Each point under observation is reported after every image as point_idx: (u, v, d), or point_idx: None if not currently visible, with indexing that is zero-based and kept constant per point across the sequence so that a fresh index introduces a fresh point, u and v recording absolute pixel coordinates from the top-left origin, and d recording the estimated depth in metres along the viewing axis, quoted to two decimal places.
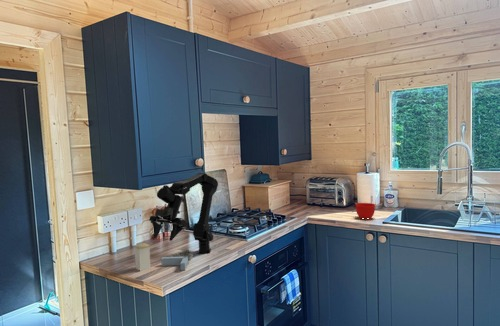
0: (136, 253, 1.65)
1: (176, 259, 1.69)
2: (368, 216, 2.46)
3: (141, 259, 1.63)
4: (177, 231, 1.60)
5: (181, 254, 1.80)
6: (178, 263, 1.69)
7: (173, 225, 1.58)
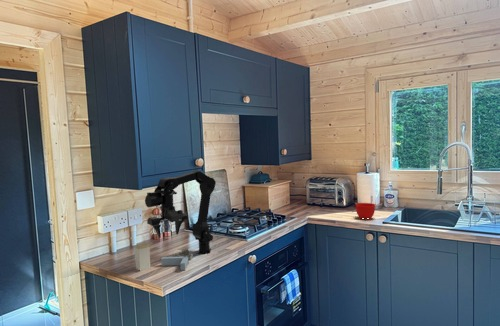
0: (136, 253, 1.65)
1: (176, 259, 1.69)
2: (368, 216, 2.46)
3: (141, 259, 1.63)
4: None
5: (181, 254, 1.79)
6: (178, 263, 1.69)
7: (181, 222, 1.74)
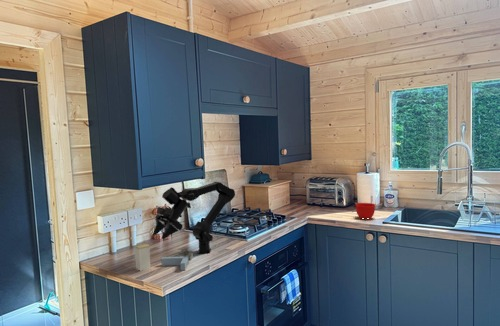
0: (136, 253, 1.65)
1: (176, 259, 1.69)
2: (368, 216, 2.46)
3: (141, 259, 1.63)
4: (171, 231, 1.69)
5: (180, 254, 1.79)
6: (178, 263, 1.69)
7: (168, 224, 1.68)
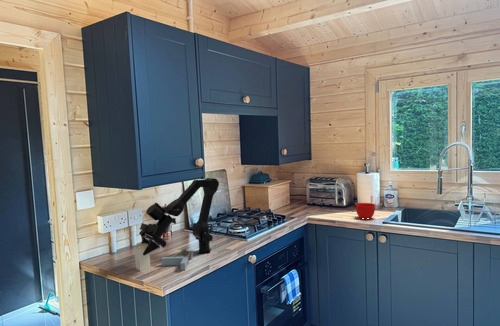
0: (136, 253, 1.65)
1: (176, 259, 1.69)
2: (368, 216, 2.46)
3: (141, 259, 1.63)
4: (153, 248, 1.65)
5: (180, 254, 1.79)
6: (178, 263, 1.69)
7: (149, 241, 1.64)
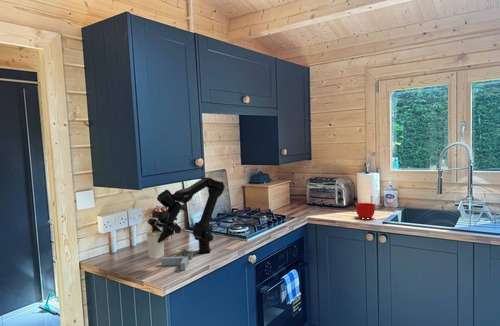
0: (149, 241, 1.62)
1: (176, 259, 1.69)
2: (368, 216, 2.46)
3: (156, 247, 1.61)
4: (167, 235, 1.64)
5: (179, 254, 1.79)
6: (178, 263, 1.69)
7: (163, 228, 1.63)
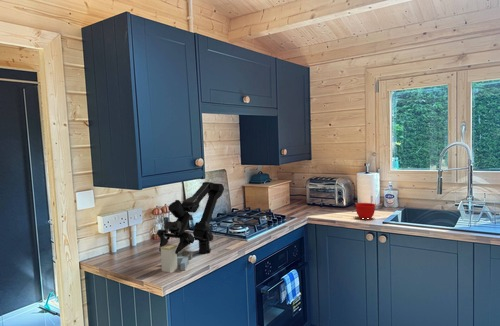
0: (163, 255, 1.62)
1: None
2: (368, 216, 2.46)
3: (170, 260, 1.61)
4: (183, 245, 1.64)
5: (179, 254, 1.79)
6: (178, 263, 1.69)
7: (180, 238, 1.62)
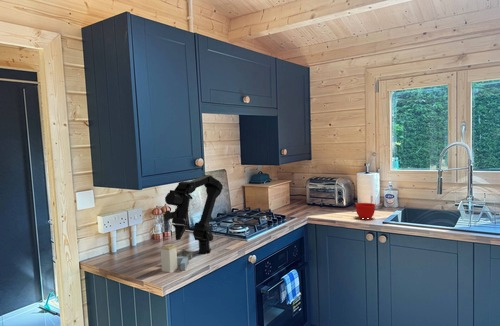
0: (163, 255, 1.62)
1: None
2: (368, 216, 2.46)
3: (170, 260, 1.61)
4: (180, 230, 1.65)
5: (179, 254, 1.79)
6: (178, 263, 1.69)
7: (173, 225, 1.65)
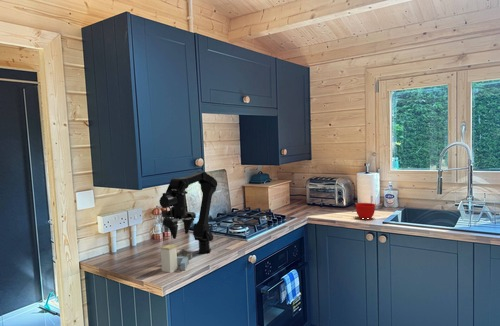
0: (163, 255, 1.62)
1: None
2: (368, 216, 2.46)
3: (170, 260, 1.61)
4: (174, 229, 1.66)
5: (179, 254, 1.79)
6: (178, 263, 1.69)
7: None
